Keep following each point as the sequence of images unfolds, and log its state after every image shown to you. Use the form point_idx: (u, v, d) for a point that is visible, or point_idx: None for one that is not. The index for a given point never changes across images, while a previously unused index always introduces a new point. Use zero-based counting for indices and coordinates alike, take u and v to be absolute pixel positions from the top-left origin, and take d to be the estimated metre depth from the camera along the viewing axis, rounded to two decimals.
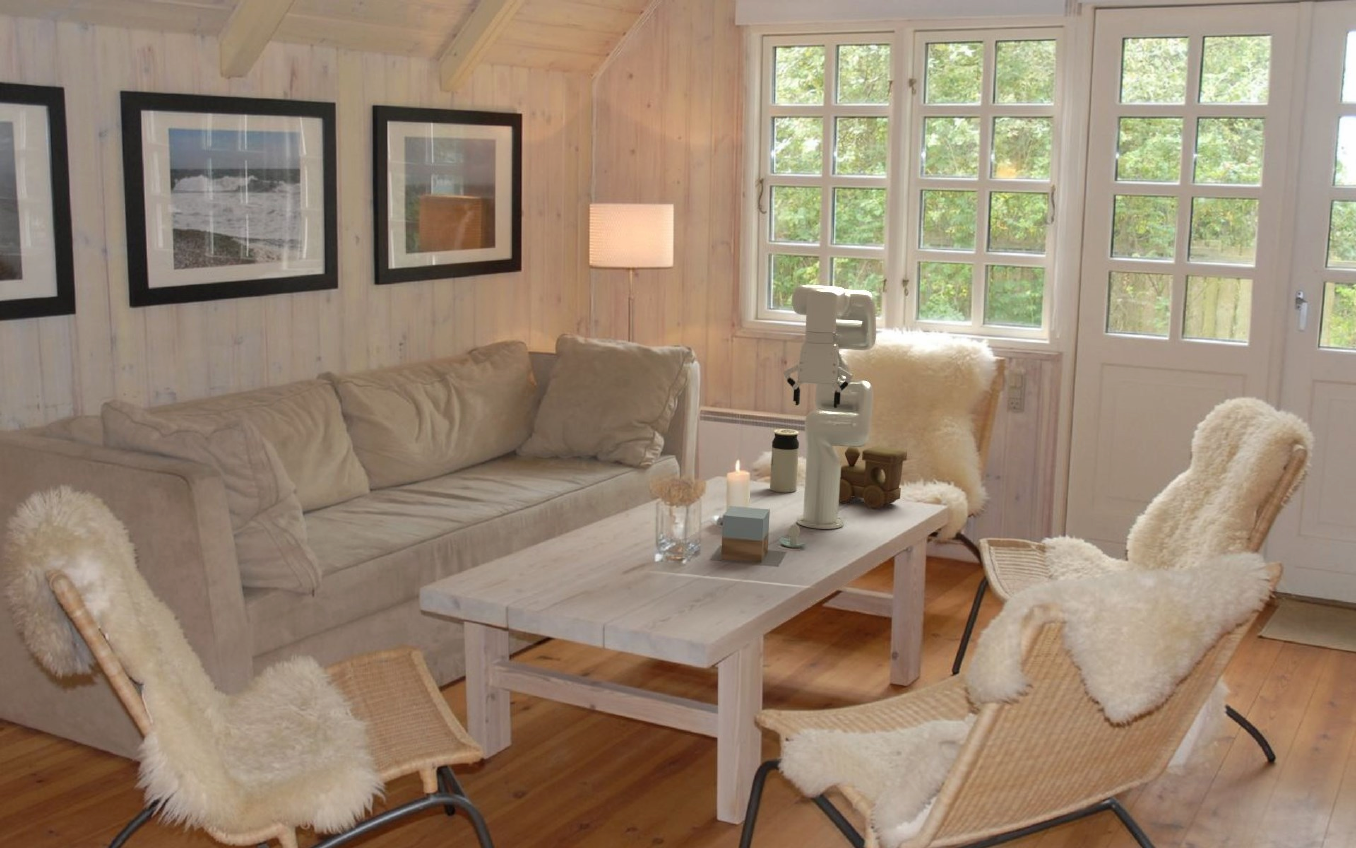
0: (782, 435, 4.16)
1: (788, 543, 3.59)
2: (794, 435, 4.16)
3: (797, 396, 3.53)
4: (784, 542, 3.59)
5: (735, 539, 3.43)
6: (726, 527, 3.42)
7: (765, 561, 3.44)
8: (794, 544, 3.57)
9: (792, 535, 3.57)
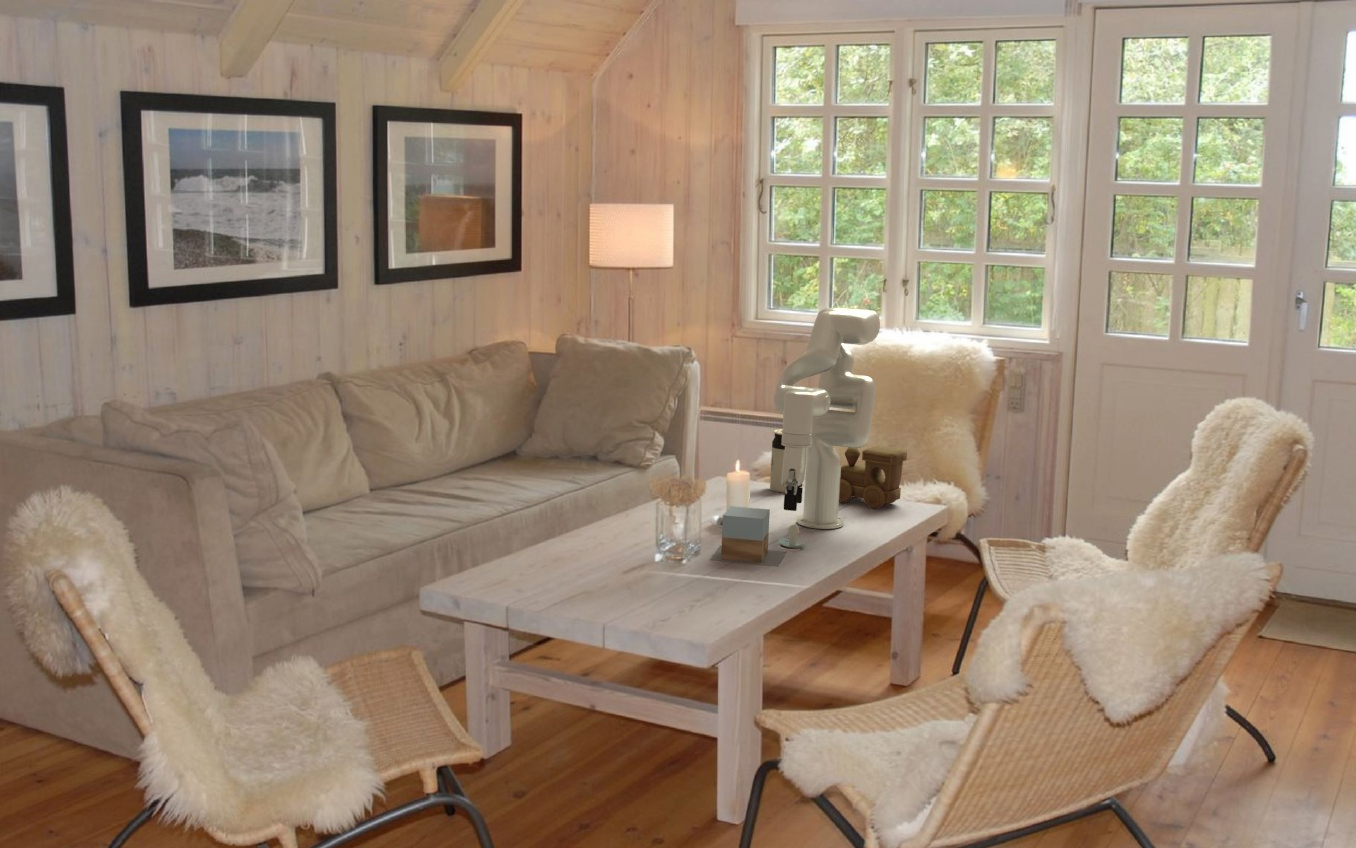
0: None
1: (787, 543, 3.59)
2: None
3: None
4: (783, 542, 3.58)
5: (735, 539, 3.43)
6: (726, 527, 3.42)
7: (765, 561, 3.44)
8: (793, 544, 3.57)
9: (791, 535, 3.57)
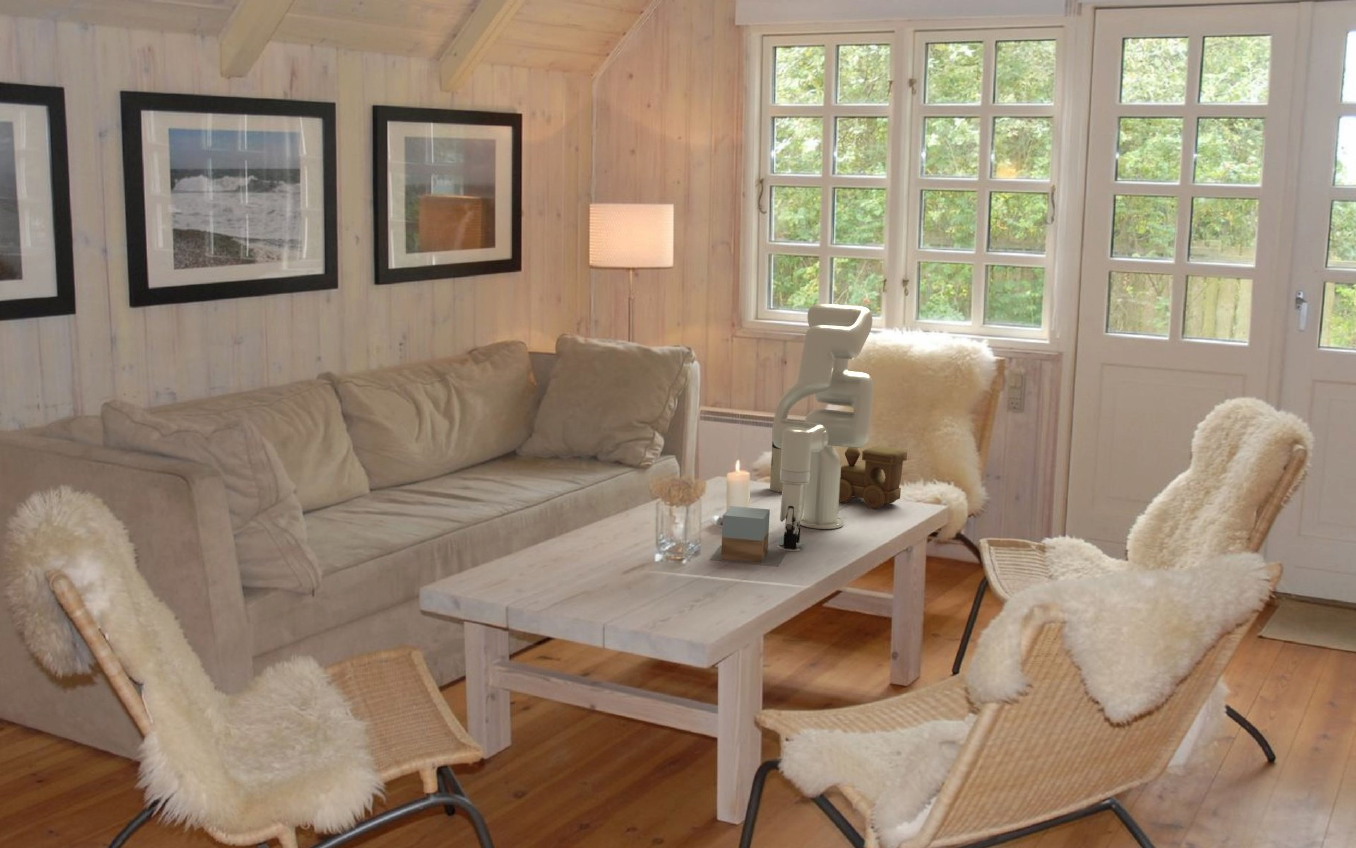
0: None
1: None
2: None
3: None
4: (783, 542, 3.58)
5: (735, 539, 3.43)
6: (726, 527, 3.42)
7: (765, 561, 3.44)
8: None
9: None
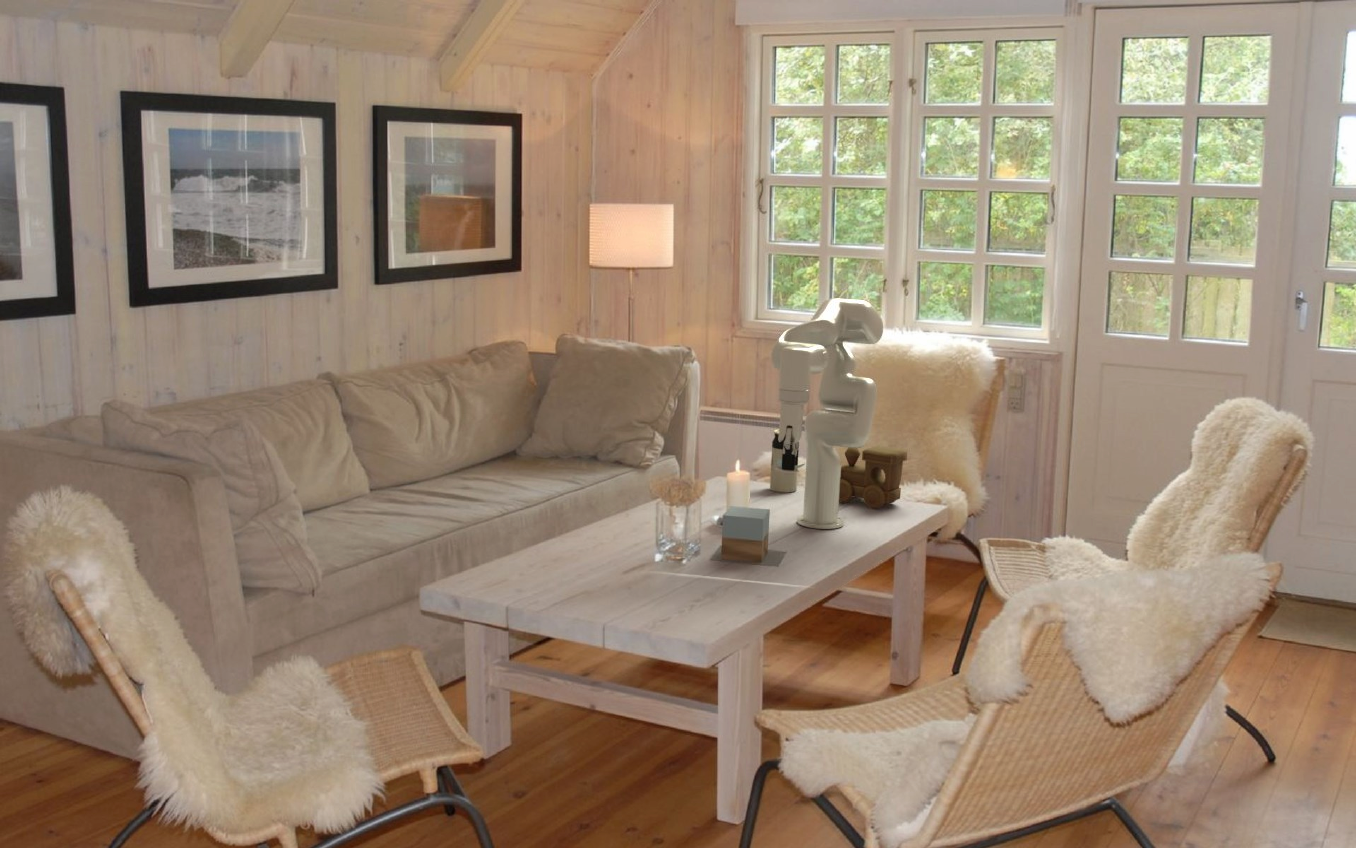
0: None
1: None
2: None
3: None
4: (781, 464, 3.53)
5: (735, 539, 3.43)
6: (726, 527, 3.42)
7: (765, 561, 3.44)
8: None
9: None
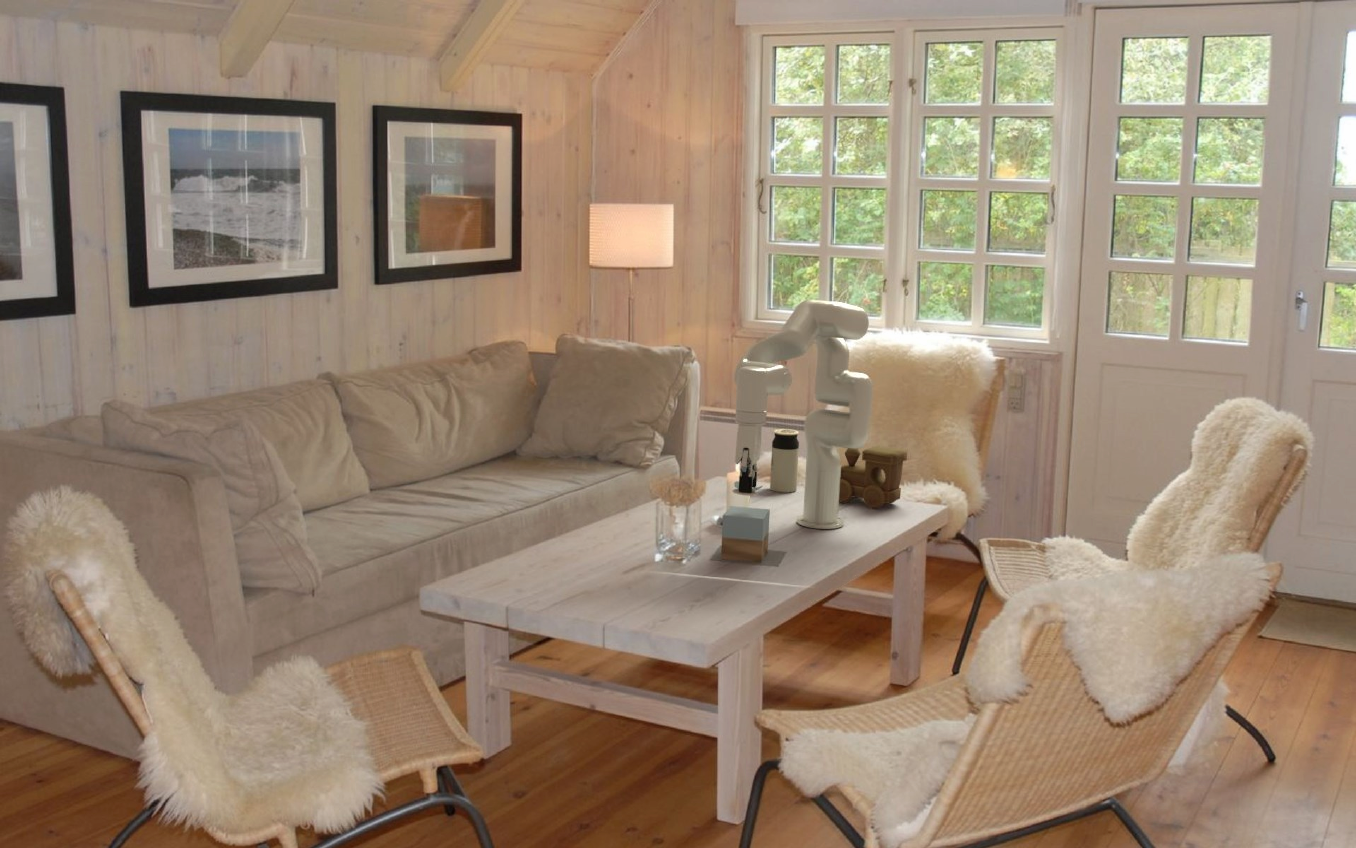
0: (782, 435, 4.16)
1: None
2: (794, 435, 4.16)
3: None
4: None
5: (735, 539, 3.43)
6: (726, 527, 3.42)
7: (765, 561, 3.44)
8: None
9: None
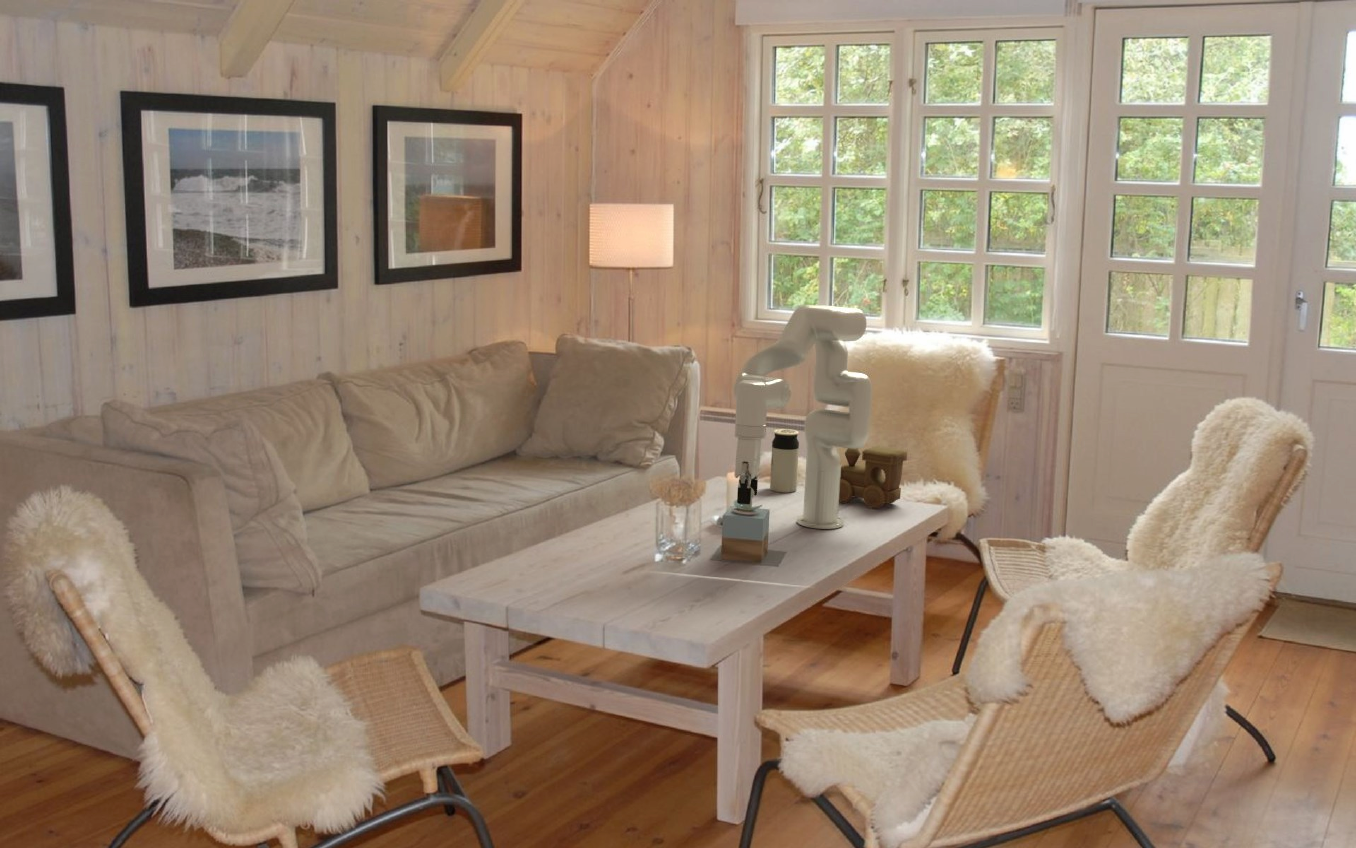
0: (782, 435, 4.16)
1: (742, 506, 3.47)
2: (794, 435, 4.16)
3: (750, 494, 3.40)
4: (738, 505, 3.47)
5: (735, 539, 3.43)
6: (726, 527, 3.42)
7: (765, 561, 3.44)
8: (749, 507, 3.45)
9: None
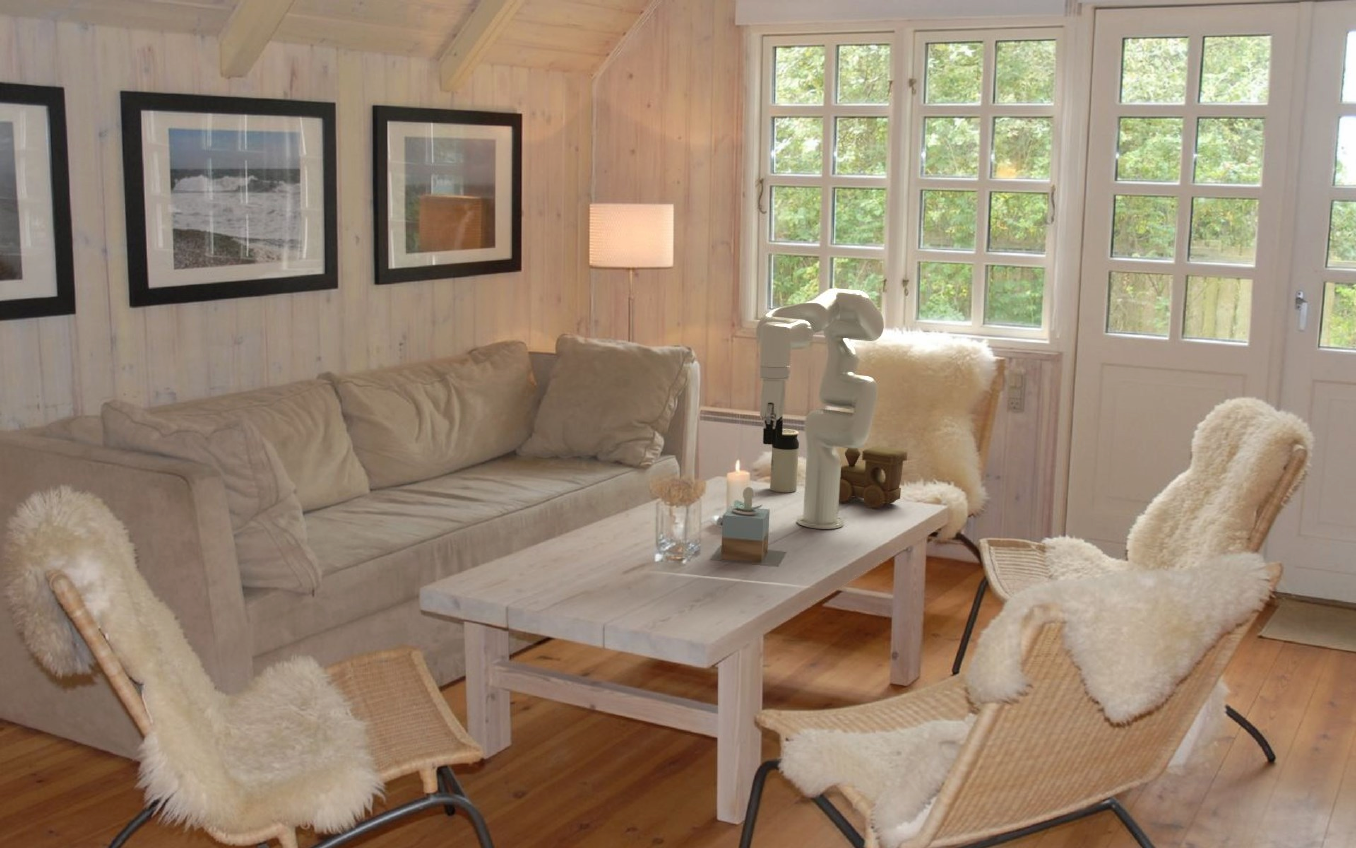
0: (782, 435, 4.16)
1: (742, 506, 3.47)
2: (794, 435, 4.16)
3: (776, 435, 3.45)
4: (738, 505, 3.47)
5: (735, 539, 3.43)
6: (726, 527, 3.42)
7: (765, 561, 3.44)
8: (749, 507, 3.45)
9: (746, 498, 3.45)
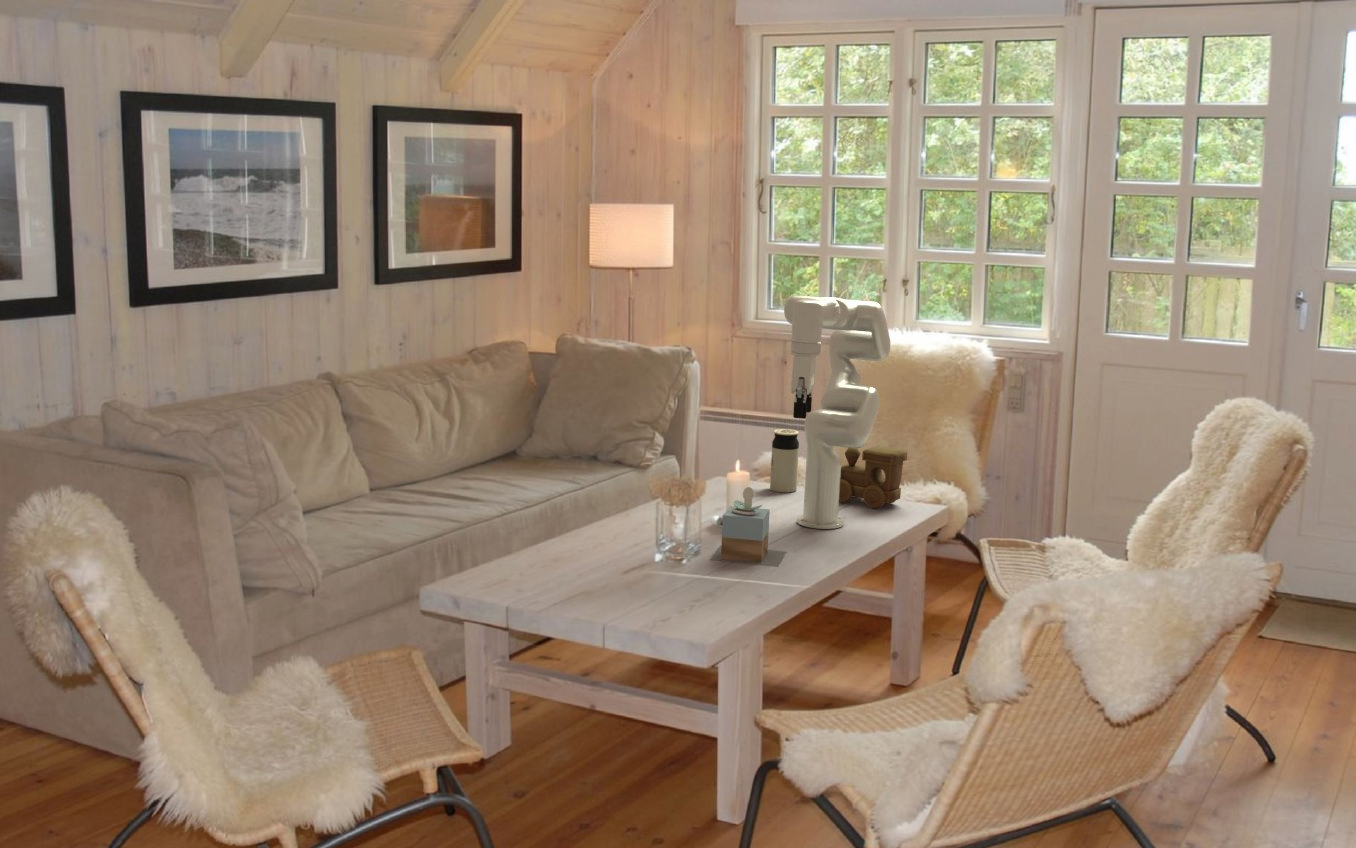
0: (782, 435, 4.16)
1: (742, 506, 3.47)
2: (794, 435, 4.16)
3: None
4: (738, 505, 3.47)
5: (735, 539, 3.43)
6: (726, 527, 3.42)
7: (765, 561, 3.44)
8: (749, 507, 3.45)
9: (746, 498, 3.45)
